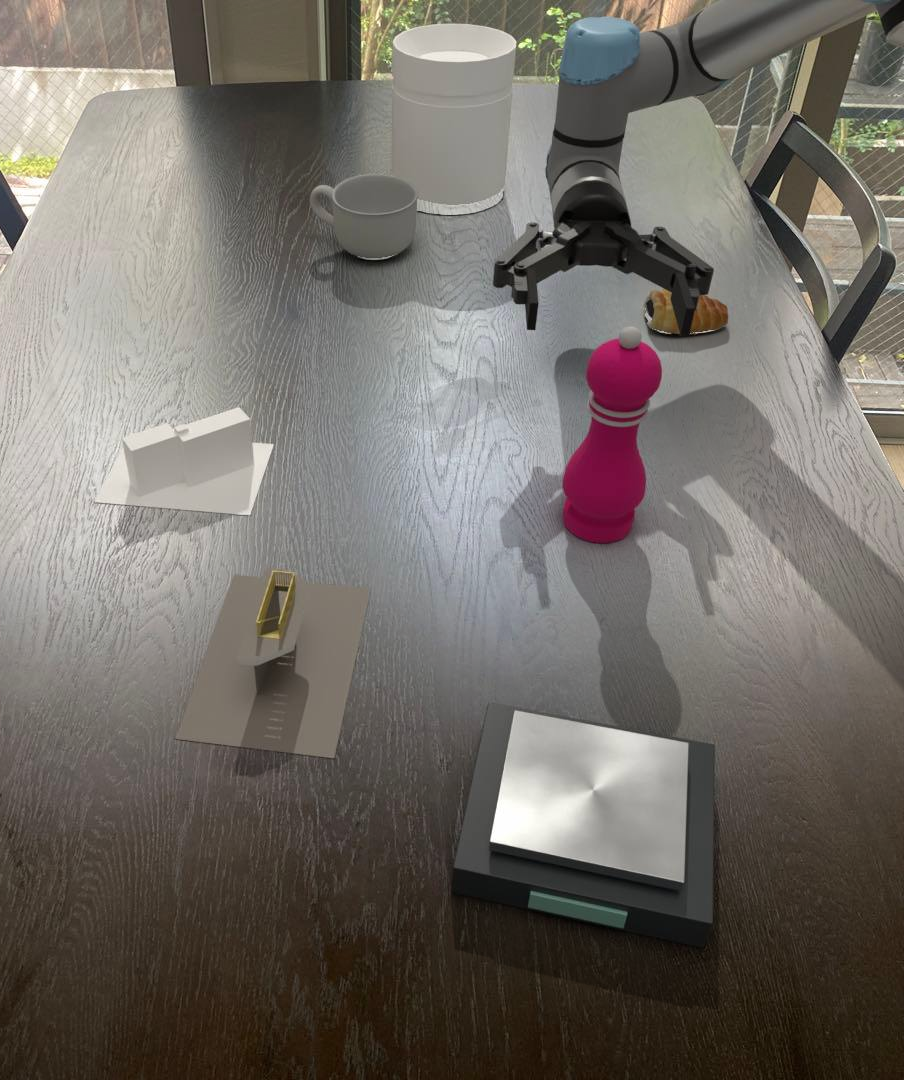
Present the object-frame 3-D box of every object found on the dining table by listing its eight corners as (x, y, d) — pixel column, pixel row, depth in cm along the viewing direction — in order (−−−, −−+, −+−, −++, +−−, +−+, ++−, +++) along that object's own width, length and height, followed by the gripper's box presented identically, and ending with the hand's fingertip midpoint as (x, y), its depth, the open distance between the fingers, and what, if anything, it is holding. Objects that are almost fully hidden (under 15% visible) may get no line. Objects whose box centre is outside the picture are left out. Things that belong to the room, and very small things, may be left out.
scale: (706, 770, 77) (715, 744, 76) (703, 952, 67) (713, 927, 65) (485, 728, 80) (488, 701, 79) (449, 896, 70) (452, 870, 68)
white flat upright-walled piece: (274, 442, 108) (270, 394, 104) (251, 515, 99) (246, 466, 95) (128, 432, 109) (119, 384, 105) (93, 503, 101) (82, 454, 97)
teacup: (431, 243, 140) (433, 184, 135) (390, 278, 133) (390, 216, 128) (340, 220, 146) (338, 162, 141) (295, 252, 139) (292, 192, 134)
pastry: (718, 309, 127) (725, 279, 125) (732, 339, 122) (740, 309, 120) (638, 309, 127) (643, 280, 125) (649, 339, 122) (655, 309, 120)
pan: (686, 751, 75) (689, 742, 74) (681, 891, 67) (684, 882, 66) (513, 719, 77) (514, 710, 76) (488, 850, 69) (489, 841, 68)
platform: (371, 588, 92) (371, 530, 88) (334, 758, 78) (332, 699, 74) (234, 574, 93) (227, 516, 89) (175, 738, 80) (163, 679, 76)
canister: (490, 222, 145) (502, 67, 132) (376, 207, 149) (376, 55, 136) (515, 176, 156) (528, 29, 143) (409, 163, 160) (412, 19, 147)
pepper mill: (638, 551, 95) (681, 355, 82) (556, 543, 96) (585, 348, 83) (636, 500, 101) (676, 308, 87) (558, 492, 101) (585, 302, 88)
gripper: (705, 252, 113) (743, 360, 97) (466, 244, 115) (466, 350, 99) (720, 182, 108) (763, 285, 92) (471, 176, 110) (471, 276, 94)
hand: (610, 319), depth 96 cm, fingers open, 13 cm apart
